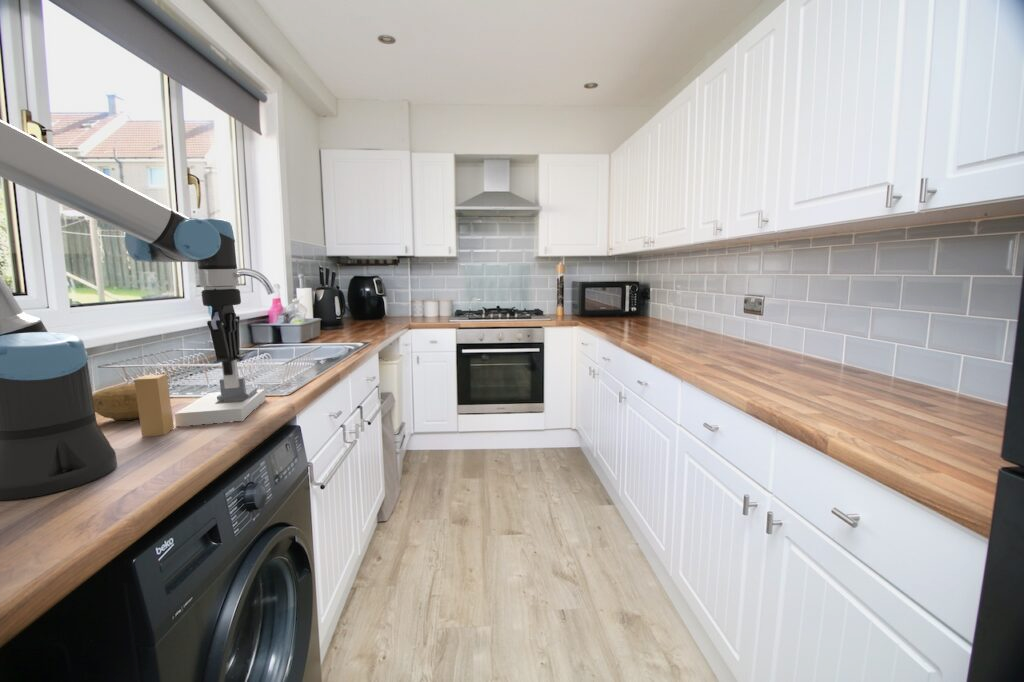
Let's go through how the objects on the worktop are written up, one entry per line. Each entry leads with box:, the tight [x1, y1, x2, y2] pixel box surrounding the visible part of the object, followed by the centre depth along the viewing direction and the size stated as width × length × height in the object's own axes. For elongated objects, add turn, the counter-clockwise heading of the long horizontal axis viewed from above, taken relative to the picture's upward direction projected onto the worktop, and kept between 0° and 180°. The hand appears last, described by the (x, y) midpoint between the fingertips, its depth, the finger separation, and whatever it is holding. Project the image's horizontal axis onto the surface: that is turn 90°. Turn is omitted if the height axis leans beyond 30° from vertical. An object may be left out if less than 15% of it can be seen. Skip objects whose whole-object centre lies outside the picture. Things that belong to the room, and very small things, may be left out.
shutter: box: [217, 377, 258, 400], centre depth 111 cm, size 7×7×5 cm
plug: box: [133, 373, 175, 437], centre depth 94 cm, size 4×4×12 cm
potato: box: [93, 383, 140, 421], centre depth 104 cm, size 10×14×8 cm
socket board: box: [174, 388, 266, 427], centre depth 108 cm, size 18×13×3 cm
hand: (232, 387), depth 107 cm, fingers closed
